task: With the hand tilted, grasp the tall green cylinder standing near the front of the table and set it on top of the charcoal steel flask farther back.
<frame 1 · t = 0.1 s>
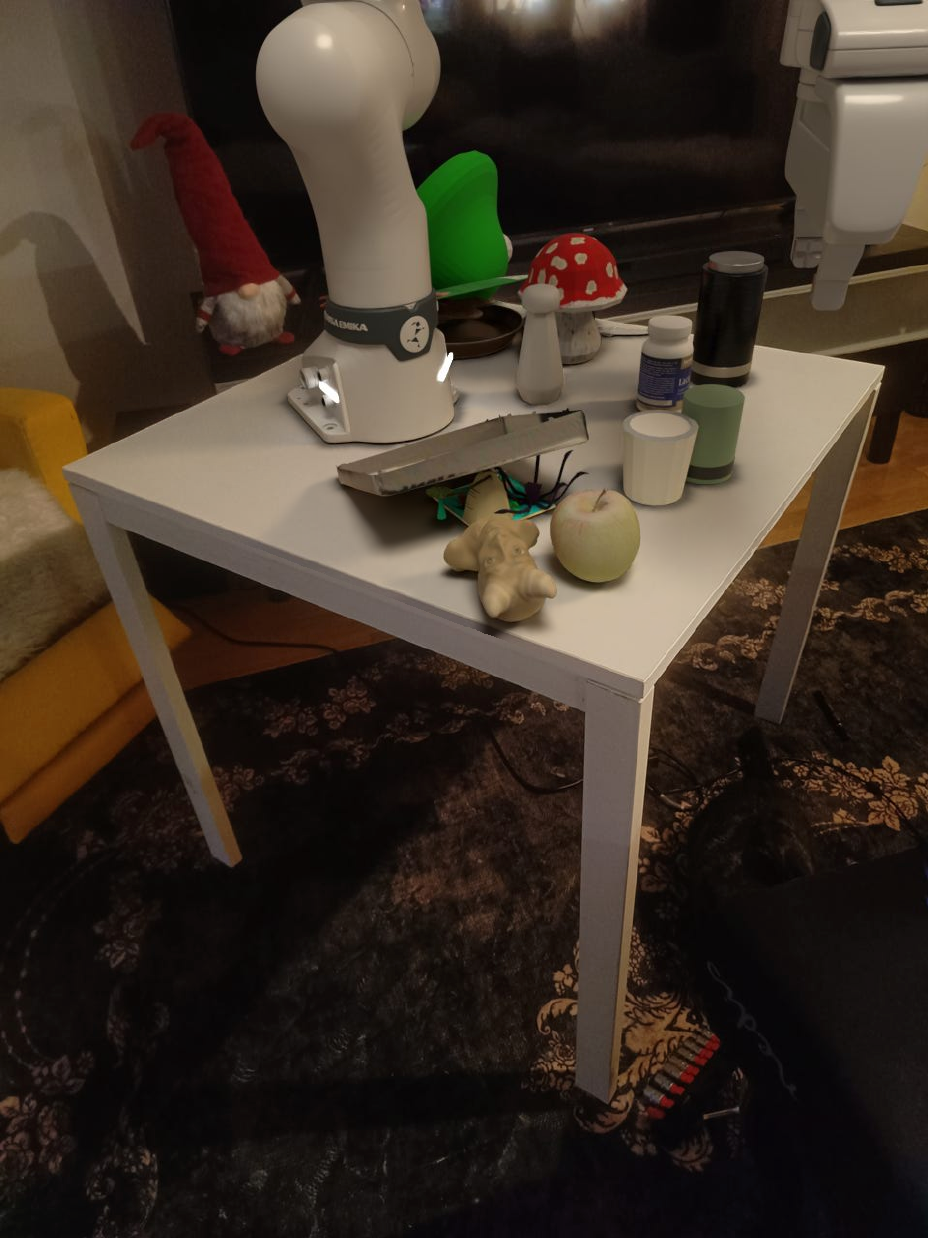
hand: (813, 284, 53), 23 cm above the table, tool pointing down, fingers open, 8 cm apart
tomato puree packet: (399, 303, 105), point 7 cm above the table, touching decorative mushroom, stone tool
decorative mushroom: (569, 357, 107), on the table, touching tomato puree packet
salt shaker: (539, 399, 97), on the table
diorama: (507, 509, 76), on the table, touching decorative tile
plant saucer: (461, 343, 114), on the table, touching stone tool
white cup: (652, 492, 78), on the table
toy: (418, 220, 120), point 12 cm above the table
battery: (573, 312, 115), point 2 cm above the table
flask: (718, 377, 99), on the table
pill bottle: (660, 409, 93), on the table
decorative tile: (350, 485, 73), point 4 cm above the table, touching diorama
spoon: (530, 321, 113), point 2 cm above the table
pocket knife: (608, 335, 112), on the table
green cylinder: (702, 471, 81), on the table
stone tool: (490, 308, 111), point 4 cm above the table, touching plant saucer, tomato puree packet
beige knobby lump: (486, 526, 67), point 4 cm above the table
fruit: (592, 571, 68), on the table
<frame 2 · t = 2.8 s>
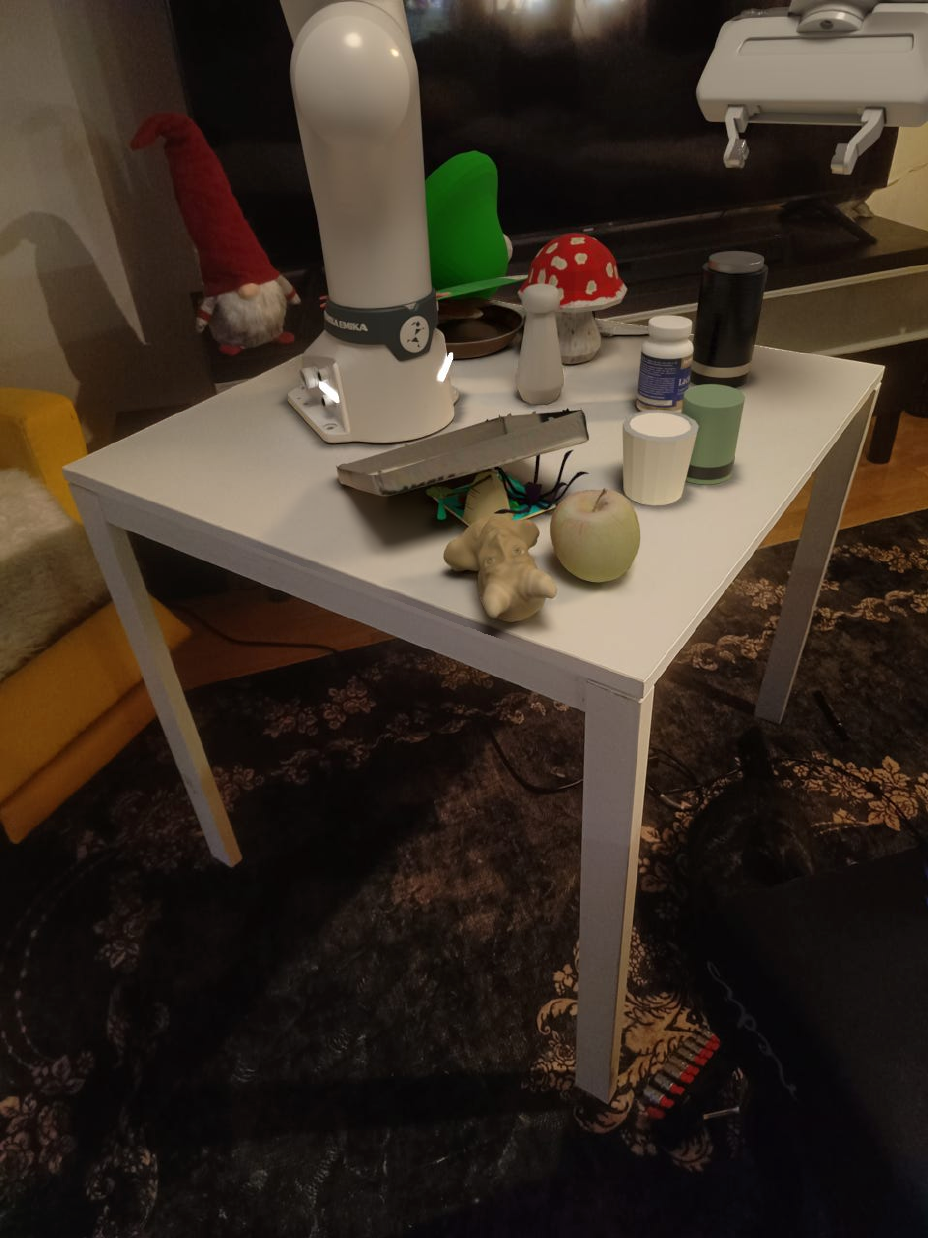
hand: (784, 167, 70), 26 cm above the table, tool tilted 40°, fingers open, 8 cm apart
nothing on the table moved.
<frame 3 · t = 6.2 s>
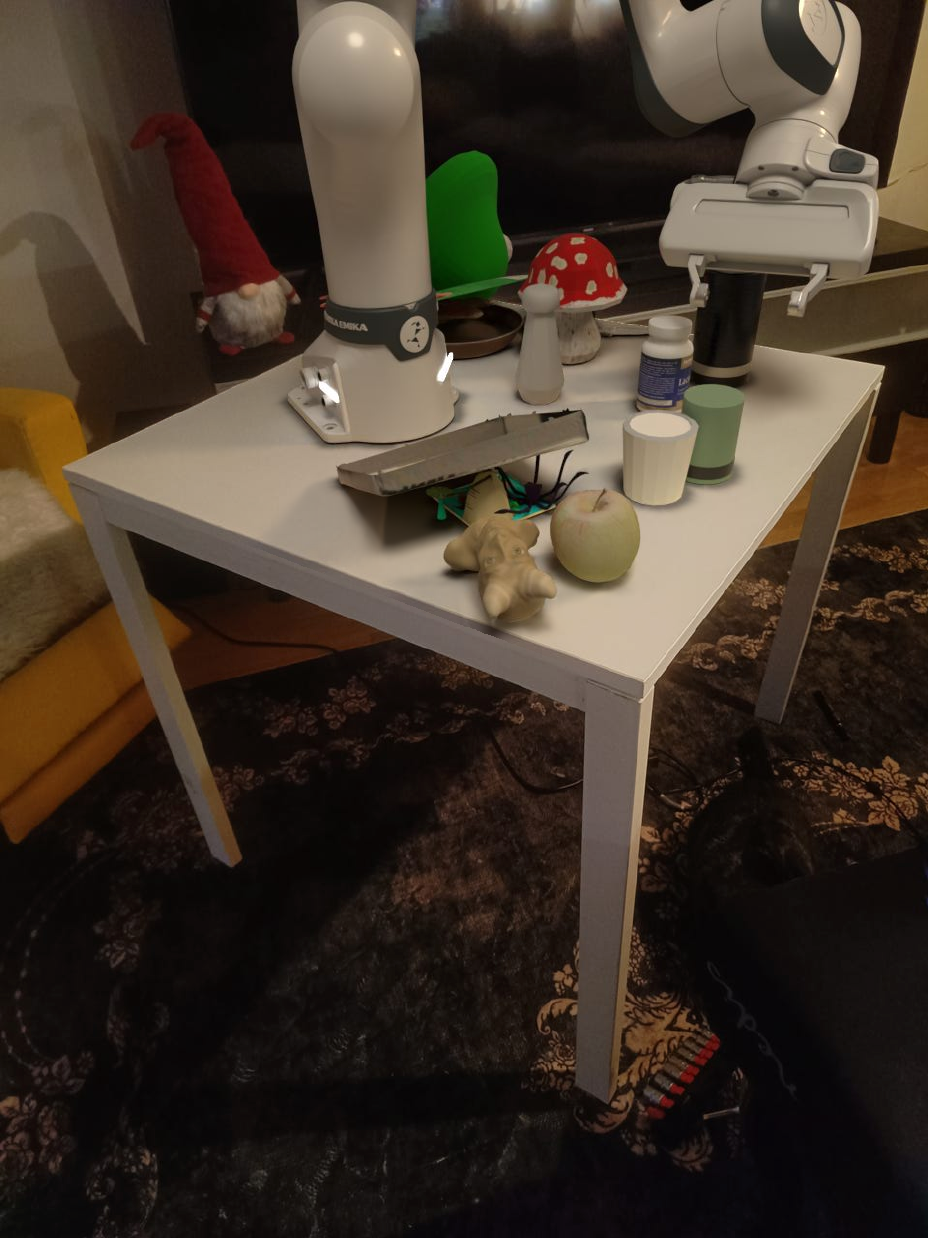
hand: (744, 308, 79), 13 cm above the table, tool tilted 45°, fingers open, 8 cm apart
nothing on the table moved.
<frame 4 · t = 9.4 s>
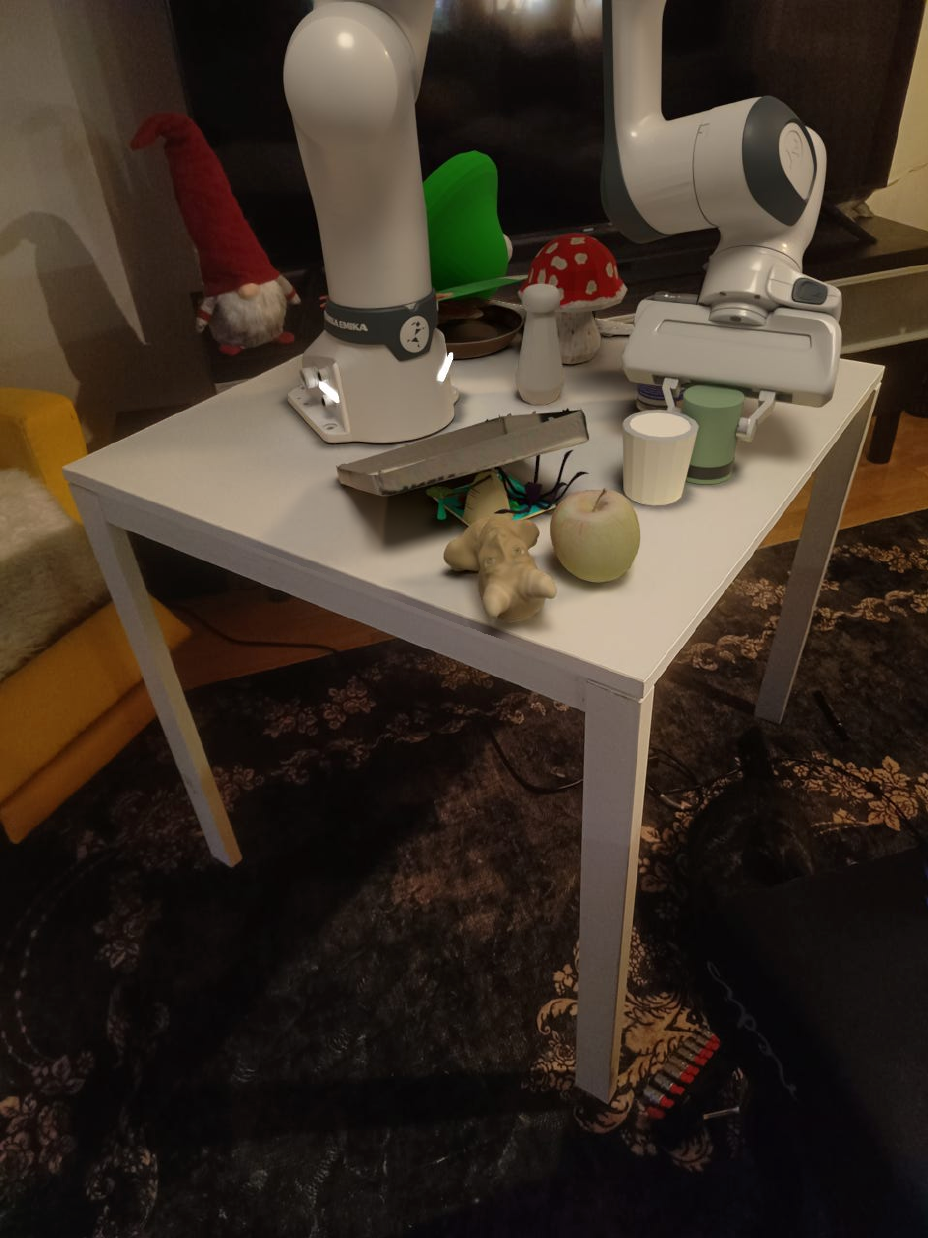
hand: (707, 433, 77), 4 cm above the table, tool tilted 45°, fingers closed on green cylinder, 5 cm apart
green cylinder: (702, 471, 81), on the table, touching gripper
everything else where it was.
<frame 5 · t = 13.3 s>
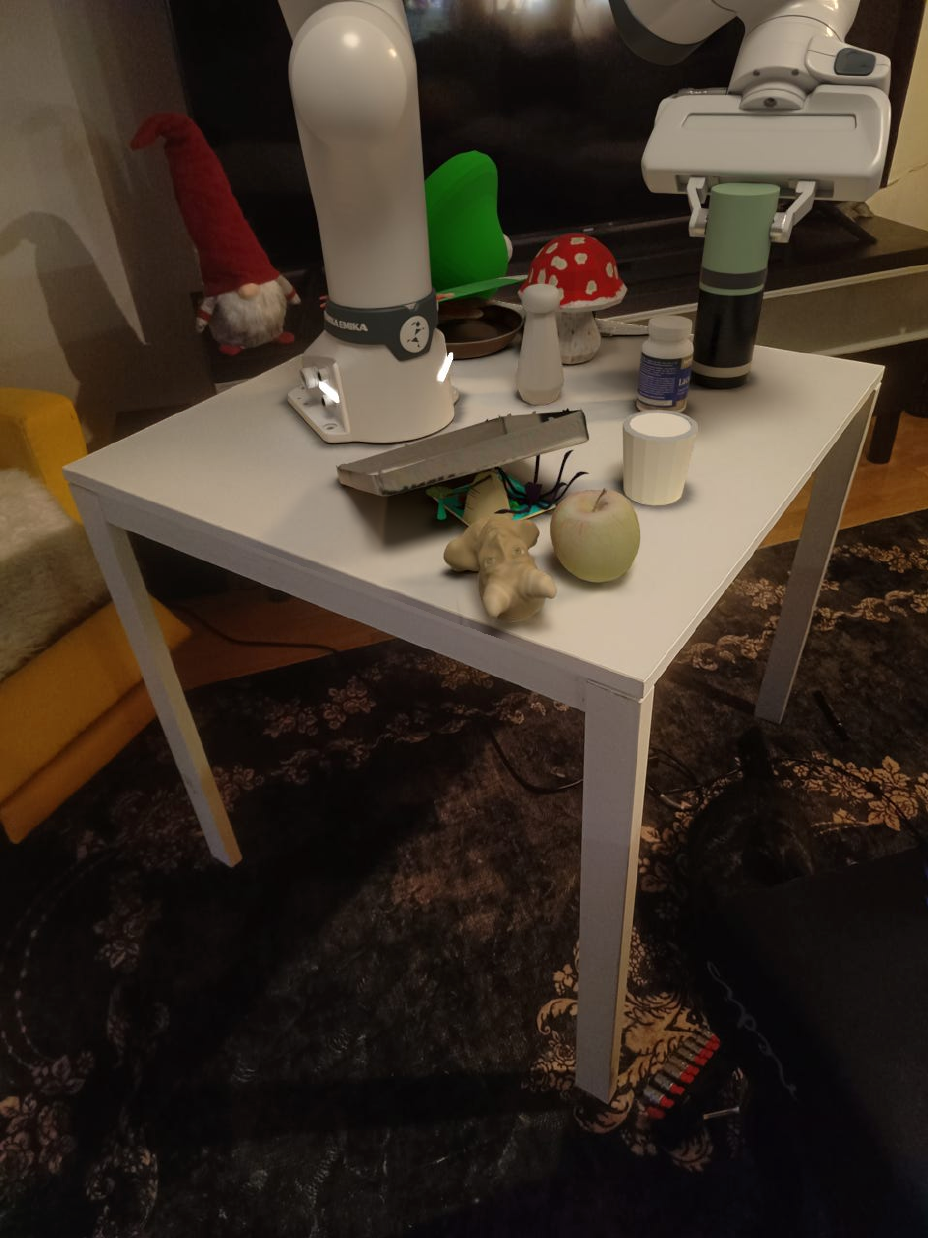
hand: (737, 235, 69), 21 cm above the table, tool tilted 45°, fingers closed on green cylinder, 5 cm apart
green cylinder: (730, 286, 73), point 17 cm above the table, touching gripper
everything else where it was.
when the fingers open (18 cm above the table, at t = 17.5 s): green cylinder stays where it is, resting on flask.
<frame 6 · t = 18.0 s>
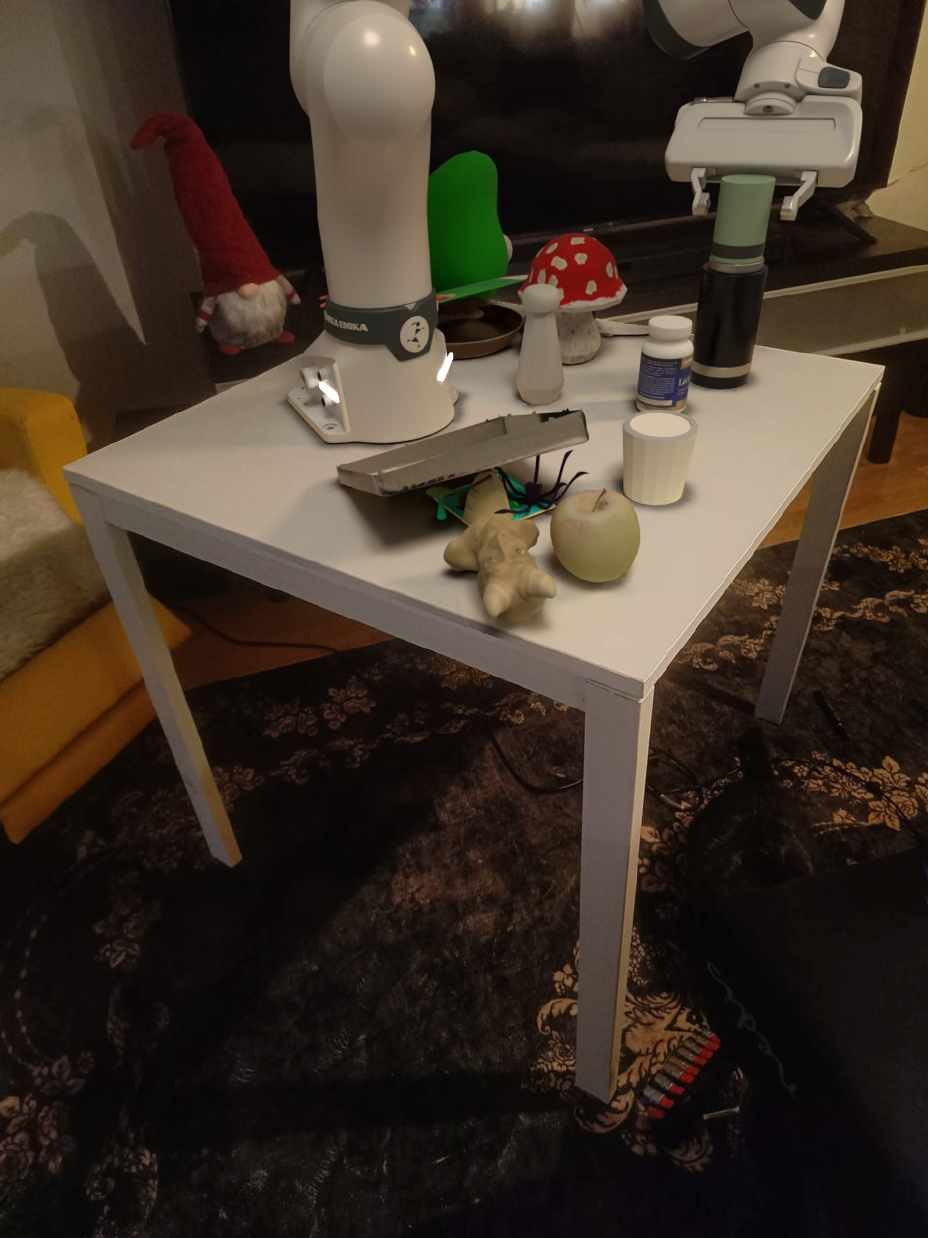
hand: (742, 214, 87), 19 cm above the table, tool tilted 45°, fingers open, 8 cm apart
green cylinder: (736, 257, 91), point 14 cm above the table, touching flask
everything else where it was.
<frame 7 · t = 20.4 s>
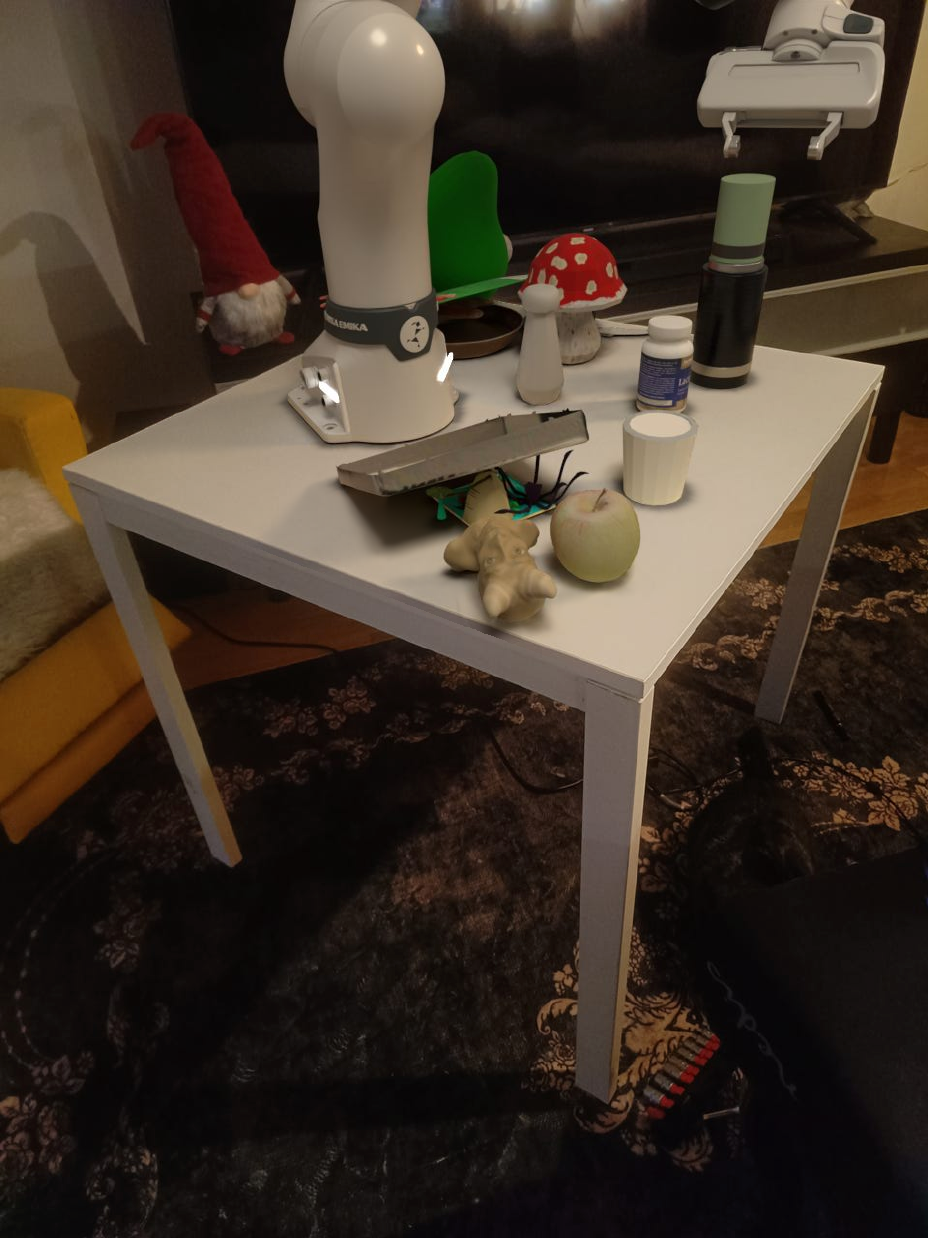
hand: (771, 155, 93), 23 cm above the table, tool tilted 45°, fingers open, 8 cm apart
nothing on the table moved.
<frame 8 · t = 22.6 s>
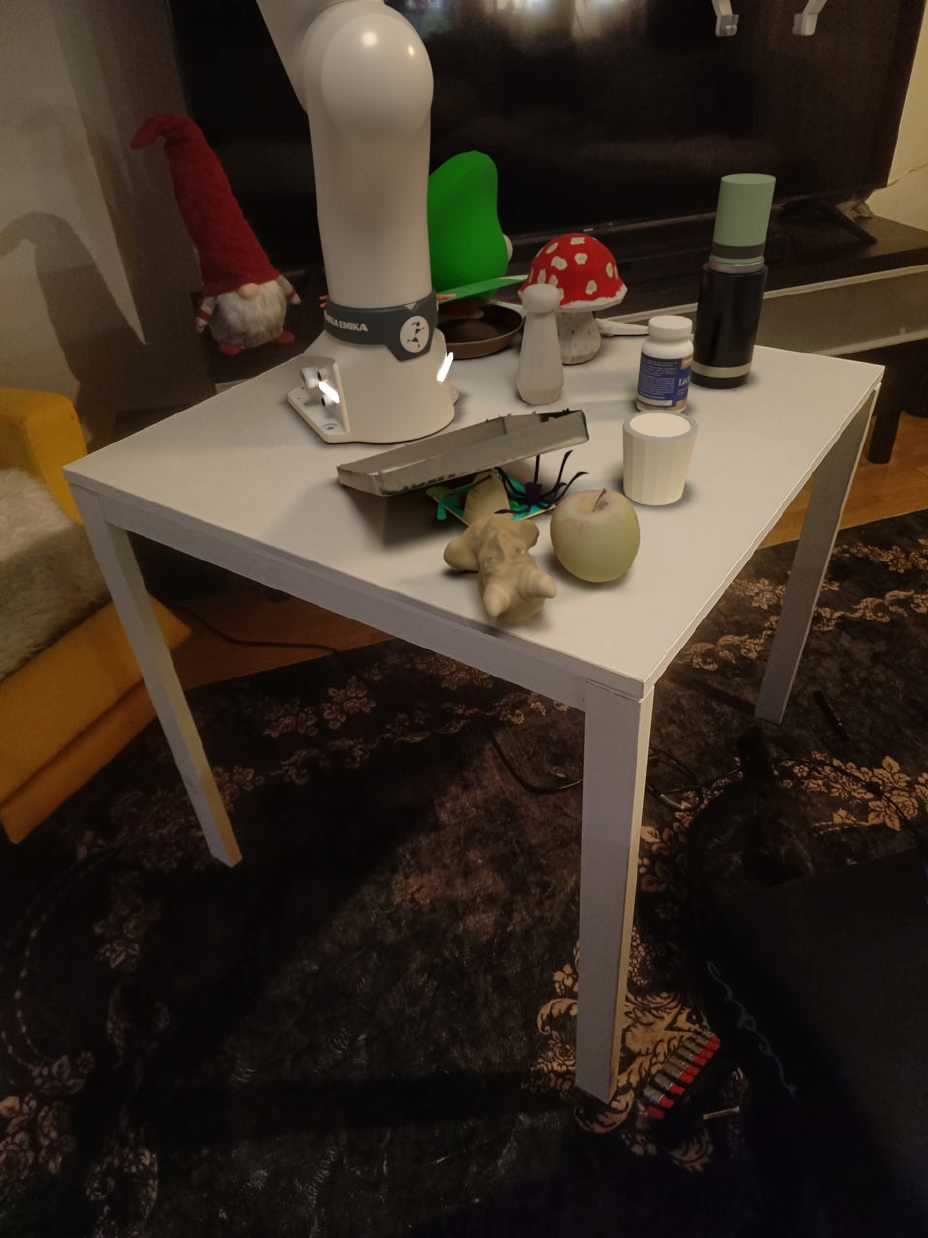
hand: (762, 35, 84), 34 cm above the table, tool pointing down, fingers open, 8 cm apart
nothing on the table moved.
at the end: green cylinder 0.1 cm off-centre on the flask, point 14.0 cm above the flask's base; green cylinder tilted 0°; the gripper is holding nothing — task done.
